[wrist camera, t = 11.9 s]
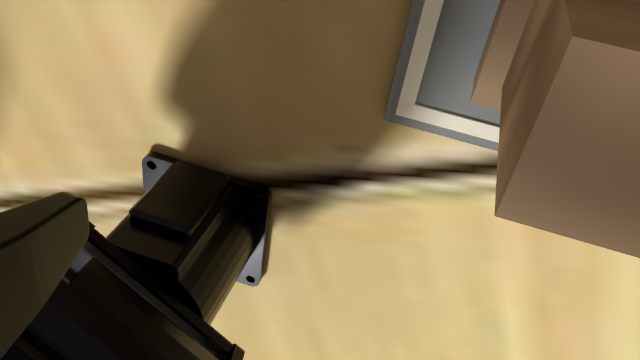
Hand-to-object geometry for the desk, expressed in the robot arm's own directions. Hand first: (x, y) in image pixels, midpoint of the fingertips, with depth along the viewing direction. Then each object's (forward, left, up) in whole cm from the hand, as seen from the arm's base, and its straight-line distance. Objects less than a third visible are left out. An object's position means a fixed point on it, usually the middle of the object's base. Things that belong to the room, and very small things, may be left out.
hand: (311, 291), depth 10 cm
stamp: (+2, -5, -12) cm, 13 cm away
